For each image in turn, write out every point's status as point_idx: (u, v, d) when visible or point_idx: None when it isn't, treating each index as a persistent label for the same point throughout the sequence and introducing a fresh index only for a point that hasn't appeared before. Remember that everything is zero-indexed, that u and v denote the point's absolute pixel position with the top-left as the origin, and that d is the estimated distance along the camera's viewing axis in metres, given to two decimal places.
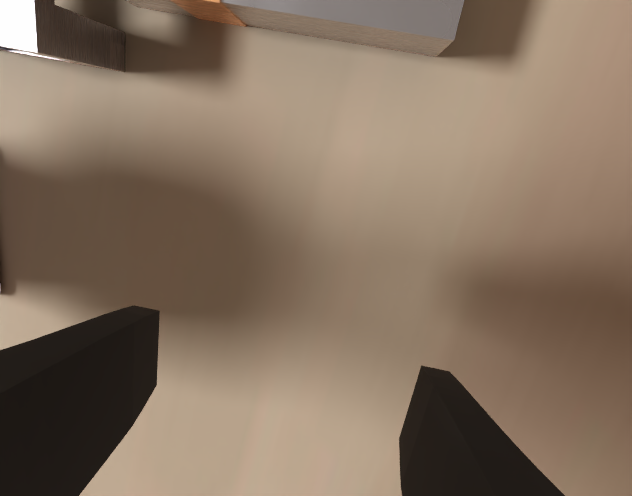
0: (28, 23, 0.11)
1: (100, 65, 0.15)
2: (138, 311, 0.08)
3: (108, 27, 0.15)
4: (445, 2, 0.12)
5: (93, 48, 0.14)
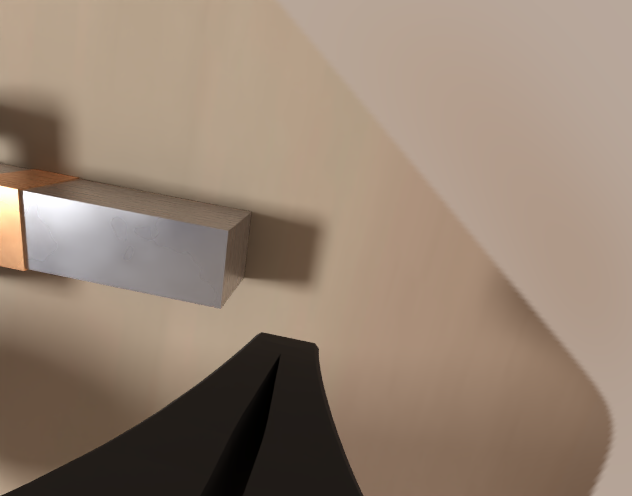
0: None
1: None
2: (272, 340, 0.08)
3: None
4: (208, 281, 0.14)
5: None
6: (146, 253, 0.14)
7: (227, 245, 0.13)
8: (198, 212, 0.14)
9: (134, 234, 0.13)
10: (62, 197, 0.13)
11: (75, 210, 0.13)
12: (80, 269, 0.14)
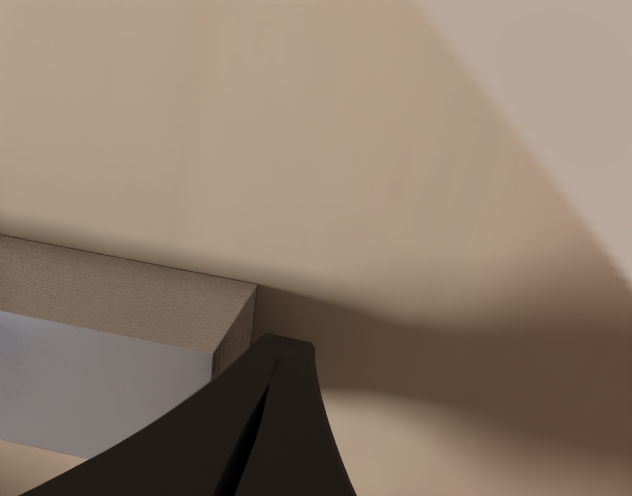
0: None
1: None
2: (277, 341, 0.08)
3: None
4: None
5: None
6: (57, 389, 0.07)
7: (211, 379, 0.07)
8: (161, 299, 0.08)
9: (32, 355, 0.07)
10: None
11: None
12: None
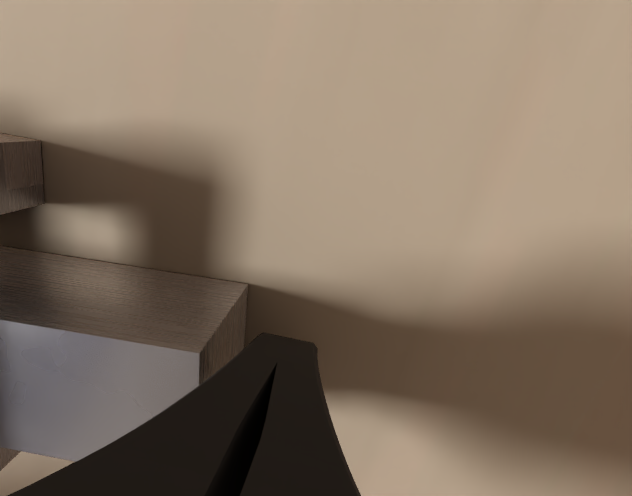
0: None
1: (11, 458, 0.10)
2: (274, 340, 0.08)
3: None
4: None
5: None
6: (49, 393, 0.07)
7: (199, 379, 0.07)
8: (150, 301, 0.08)
9: (22, 361, 0.07)
10: None
11: None
12: None
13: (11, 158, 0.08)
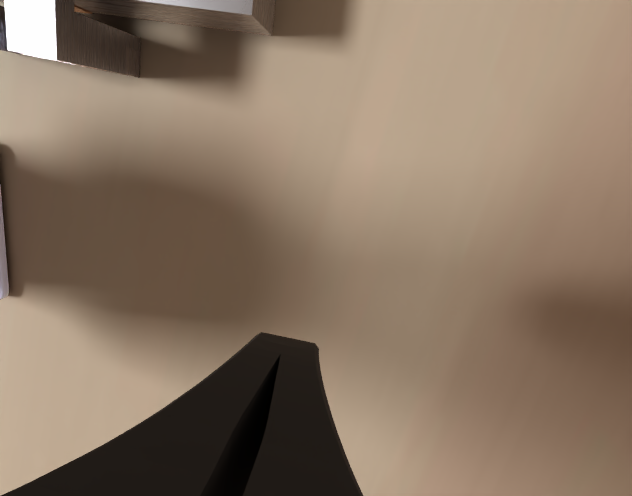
0: (49, 31, 0.11)
1: (116, 71, 0.15)
2: (272, 340, 0.08)
3: (125, 33, 0.15)
4: None
5: (110, 54, 0.14)
6: None
7: None
8: None
9: None
10: None
11: None
12: None
13: None
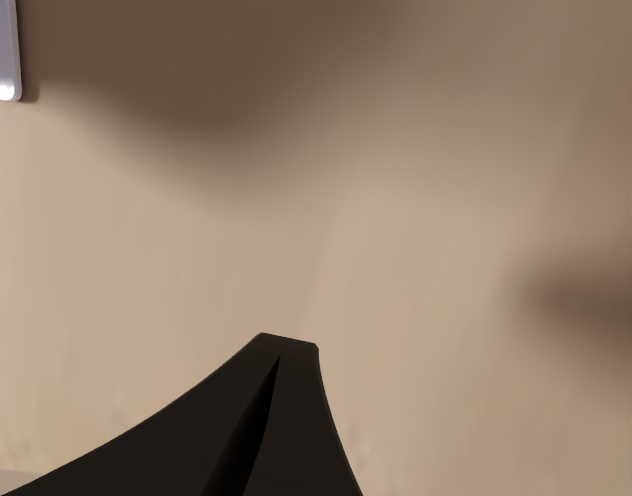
0: None
1: None
2: (272, 340, 0.08)
3: None
4: None
5: None
6: None
7: None
8: None
9: None
10: None
11: None
12: None
13: None
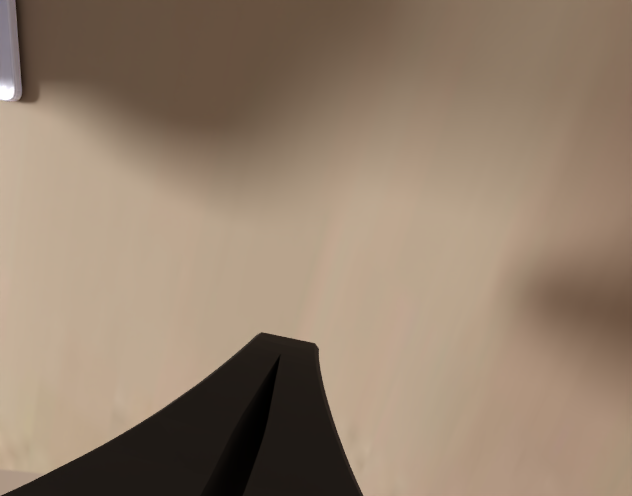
0: None
1: None
2: (272, 340, 0.08)
3: None
4: None
5: None
6: None
7: None
8: None
9: None
10: None
11: None
12: None
13: None
